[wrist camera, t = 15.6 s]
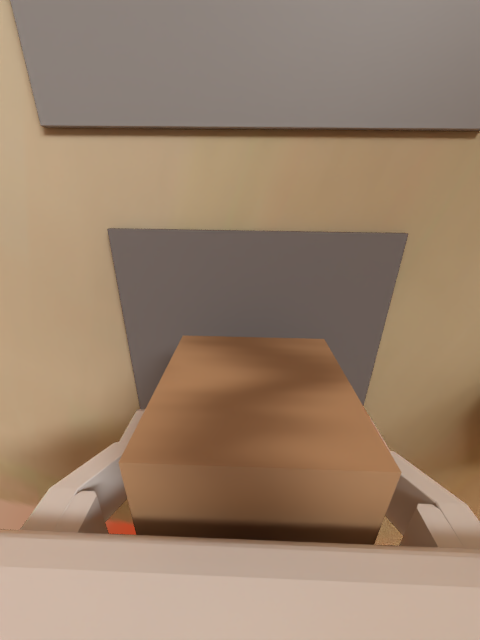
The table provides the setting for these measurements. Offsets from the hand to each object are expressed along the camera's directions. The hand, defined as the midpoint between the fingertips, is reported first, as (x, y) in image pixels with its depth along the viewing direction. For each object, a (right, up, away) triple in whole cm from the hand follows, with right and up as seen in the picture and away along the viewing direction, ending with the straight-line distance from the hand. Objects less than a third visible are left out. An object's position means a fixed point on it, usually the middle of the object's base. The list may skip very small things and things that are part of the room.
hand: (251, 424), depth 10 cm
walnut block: (0, +1, +2) cm, 2 cm away
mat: (0, +2, +5) cm, 5 cm away
